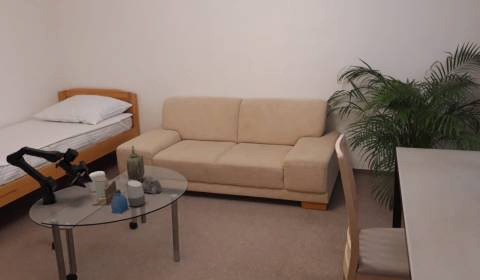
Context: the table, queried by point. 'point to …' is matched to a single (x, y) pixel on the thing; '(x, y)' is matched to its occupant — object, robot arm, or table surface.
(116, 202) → the perfume bottle
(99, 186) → the cabinet block
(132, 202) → the smart speaker
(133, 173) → the green spouted canister
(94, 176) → the photo printer
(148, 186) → the mineral rock
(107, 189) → the cleat board
